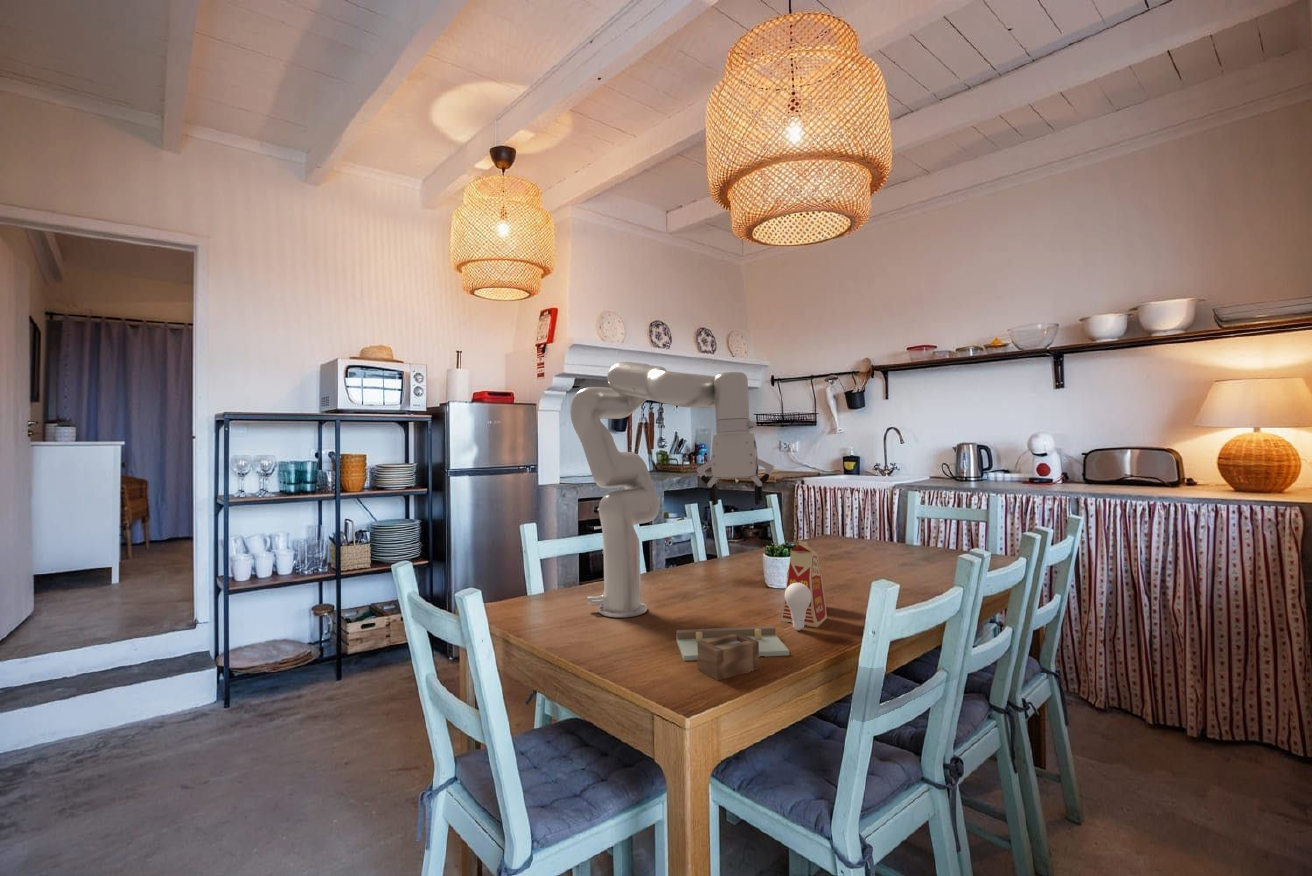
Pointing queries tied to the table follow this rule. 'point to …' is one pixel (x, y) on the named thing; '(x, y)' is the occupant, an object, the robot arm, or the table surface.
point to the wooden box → (728, 656)
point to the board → (764, 647)
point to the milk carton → (809, 574)
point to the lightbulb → (798, 603)
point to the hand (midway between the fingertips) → (736, 504)
